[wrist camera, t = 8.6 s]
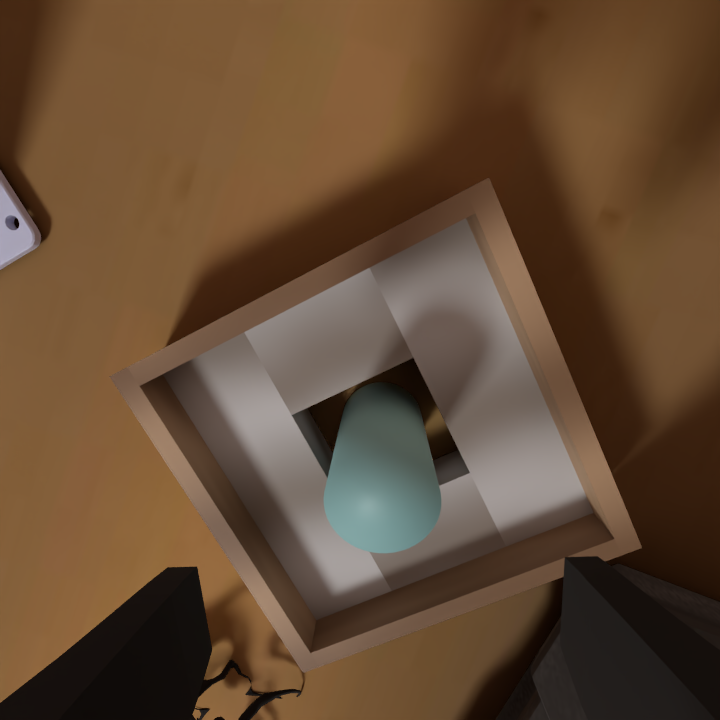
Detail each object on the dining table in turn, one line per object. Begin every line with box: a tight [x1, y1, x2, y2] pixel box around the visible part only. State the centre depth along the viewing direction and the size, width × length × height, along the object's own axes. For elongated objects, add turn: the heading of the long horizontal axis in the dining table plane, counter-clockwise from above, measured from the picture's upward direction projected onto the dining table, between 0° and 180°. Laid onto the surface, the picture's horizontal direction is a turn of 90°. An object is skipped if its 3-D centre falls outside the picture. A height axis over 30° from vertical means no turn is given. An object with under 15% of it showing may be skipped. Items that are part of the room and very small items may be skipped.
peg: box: [324, 382, 441, 553], centre depth 15 cm, size 3×3×6 cm
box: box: [110, 178, 642, 673], centre depth 16 cm, size 13×13×4 cm
